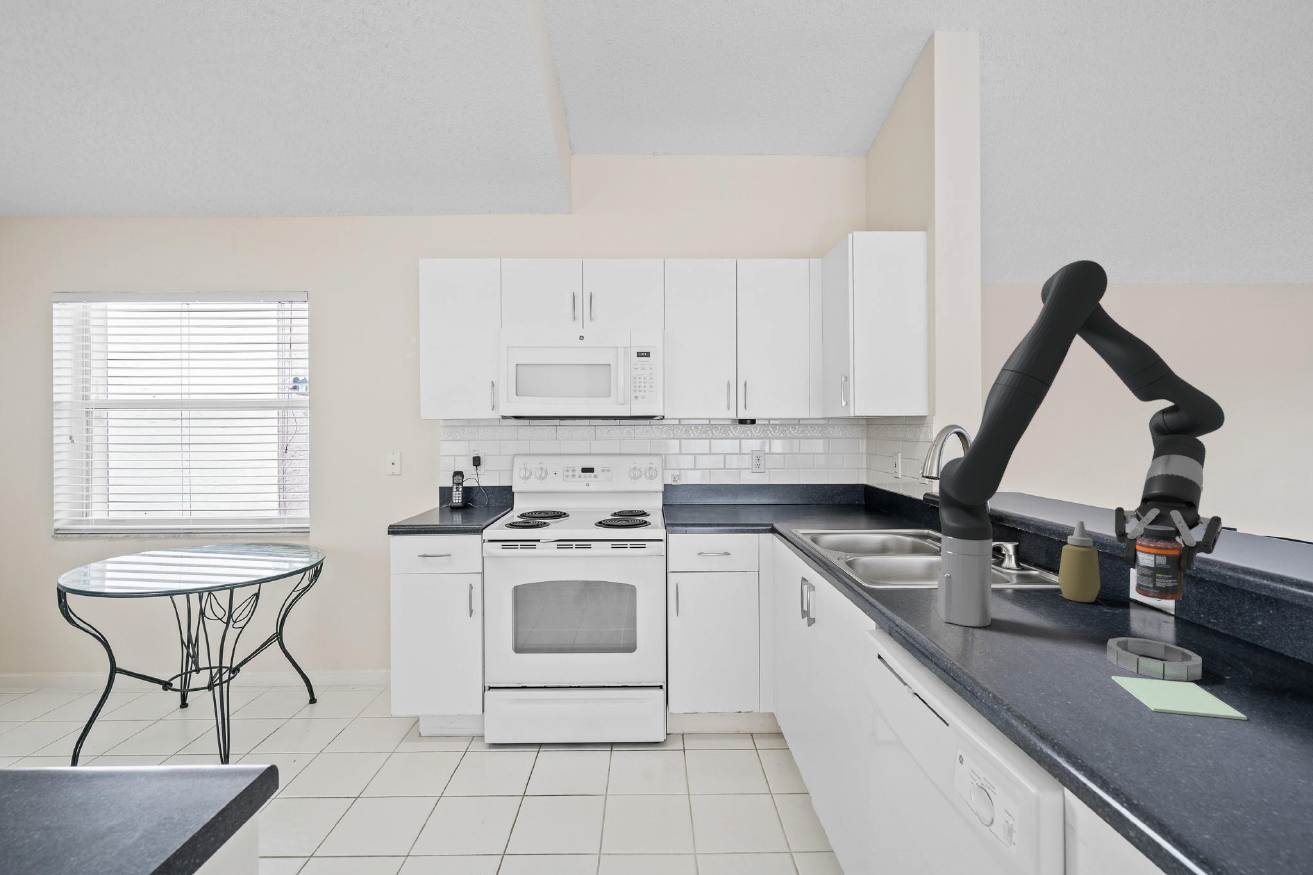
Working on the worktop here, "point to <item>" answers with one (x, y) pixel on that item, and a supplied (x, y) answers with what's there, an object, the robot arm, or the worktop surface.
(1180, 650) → the holder ring
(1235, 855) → the worktop surface
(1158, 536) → the supplement bottle
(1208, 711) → the mat
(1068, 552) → the squeeze bottle
